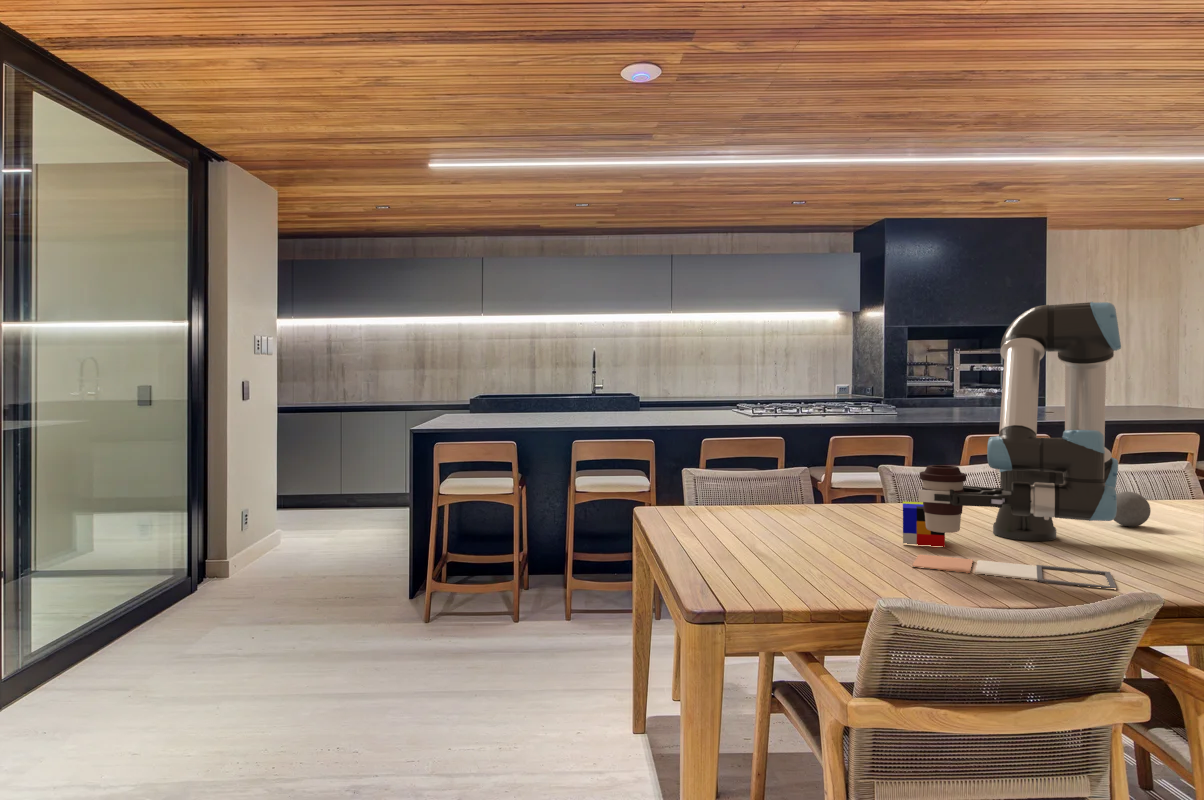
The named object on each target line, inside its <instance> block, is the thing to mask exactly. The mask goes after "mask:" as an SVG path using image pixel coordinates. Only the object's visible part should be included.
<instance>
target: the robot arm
mask: <svg viewBox="0 0 1204 800" xmlns="http://www.w3.org/2000/svg"><path fill="white" fill-rule="evenodd" d="M1121 349H1122V344H1121V337H1120V329H1119V322H1118V315H1117V309H1116V306H1115V305H1114V304H1113V303H1112V302H1107V301H1105V302H1101V301H1099V302H1094V301H1090V302H1089V301H1088V302H1075V303H1061V304H1050V305H1049V304H1044V305H1037V306H1033V307H1031V308H1029V309H1028V310H1025V311H1024V312H1022V314H1021V313H1020V315H1018V316H1017V317H1016V318H1015V319H1014V320H1013V321H1012V322H1011V324H1009V326H1008V327H1007V328H1006V330H1005V332H1004V334H1003V336H1002V339H1001V343H1000V353H999V354H1000V356H1001V358H1002V359H1003V360H1004V362H1003V376H1002V389H1001V401H1000V402H1001V403H1000V415H999V417H1000V418H999V430H998V432H999V433H998V435H996V436H990V437H989V438H988V439H987V440H988V441H987V446H986V447H987V452H986V453H987V454H986V456H987V457H986V458H987V464H988V467H990V468H991V469H995V470H998V471H999V473H1000V474H999V475H1000V478H999V479H1000V480H999V481H1000V484H999V486H1000V487H988V486H987V487H985V486H975V485H974V486H973V485H964V484H963V489H964V493H954V490H952V489H950V491H935V490H922V489H918V502H932V503H947V504H953V505H954V506H963V507H985V508H987V507H989V508H998V511H997V514H996V518H995V522H993V524H992V525H993V526H992V534H994V535H995V536H997V535H998V537H1002V538H1004V539H1011V540H1019V541H1029V542H1032V541H1033V542H1046V541H1047V542H1048V541H1052V540H1056V539H1057V528H1056V527H1055V526H1054V521H1053V519H1065V520H1066V519H1067V520H1077V521H1078V520H1079V521H1089V522H1092V521H1094V522H1095V521H1099V522H1111V521H1114V520H1113V519H1114V518H1115V517H1116V512H1117V496H1116V494H1117V490H1116V487H1117V481H1118V472H1119V461H1118V459H1117V458H1114V457H1112V452H1111V451H1110V449H1108V448H1107V447H1106V446H1105V437H1106V435H1105V433H1106V431H1105V430H1106V429H1105V427H1106V387H1107V386H1106V385H1107V383H1106V379H1107V378H1106V377H1107V375H1106V374H1107V373H1106V372H1107V363H1108V362H1109V361H1111V360H1112V359H1113V358H1114V355H1115V354H1114V353H1115V352H1116V351H1119V350H1121ZM1045 352H1048V353H1049V352H1051V353H1052V352H1056V353H1057V359H1058V360H1059V361H1060V362H1062V363H1063V364H1064V430H1063V432H1062V436H1061V437H1038V436H1037V435H1038V433H1037V432H1038V412H1039V411H1038V409H1039V407H1038V406H1039V383H1040V362H1041V360H1042V359H1043V358H1044V356H1045V354H1046V353H1045Z"/></svg>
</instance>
